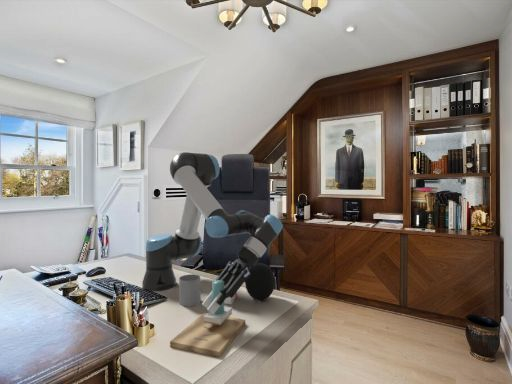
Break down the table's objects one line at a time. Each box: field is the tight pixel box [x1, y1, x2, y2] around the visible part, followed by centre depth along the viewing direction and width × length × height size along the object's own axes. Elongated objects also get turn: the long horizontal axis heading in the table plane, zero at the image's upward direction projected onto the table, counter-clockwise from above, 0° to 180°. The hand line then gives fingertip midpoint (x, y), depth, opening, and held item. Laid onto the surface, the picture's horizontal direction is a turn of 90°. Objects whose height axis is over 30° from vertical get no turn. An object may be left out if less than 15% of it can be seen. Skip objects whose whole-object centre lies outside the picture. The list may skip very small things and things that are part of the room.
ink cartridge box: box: [224, 284, 238, 305], centre depth 119 cm, size 9×5×15 cm, turn 168°
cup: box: [178, 273, 202, 307], centre depth 117 cm, size 8×8×10 cm
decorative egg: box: [244, 262, 276, 301], centre depth 120 cm, size 12×12×15 cm
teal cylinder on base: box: [204, 279, 233, 325], centre depth 96 cm, size 6×9×12 cm, turn 161°
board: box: [169, 312, 246, 358], centre depth 92 cm, size 16×20×2 cm
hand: (207, 309), depth 94 cm, fingers closed on teal cylinder on base, 4 cm apart
